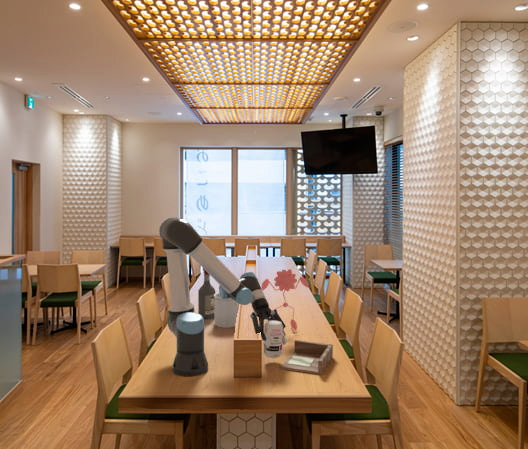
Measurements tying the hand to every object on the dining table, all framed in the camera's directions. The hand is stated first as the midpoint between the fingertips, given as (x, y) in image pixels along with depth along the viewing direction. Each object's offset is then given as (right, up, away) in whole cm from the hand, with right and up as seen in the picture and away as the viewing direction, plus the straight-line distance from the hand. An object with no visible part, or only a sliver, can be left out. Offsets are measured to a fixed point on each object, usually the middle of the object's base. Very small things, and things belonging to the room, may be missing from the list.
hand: (277, 344), depth 201 cm
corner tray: (+14, -9, +3) cm, 16 cm away
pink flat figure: (+6, -6, +47) cm, 48 cm away
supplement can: (-2, -6, +3) cm, 7 cm away
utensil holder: (-28, -5, +61) cm, 68 cm away
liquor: (-41, -4, +77) cm, 87 cm away
